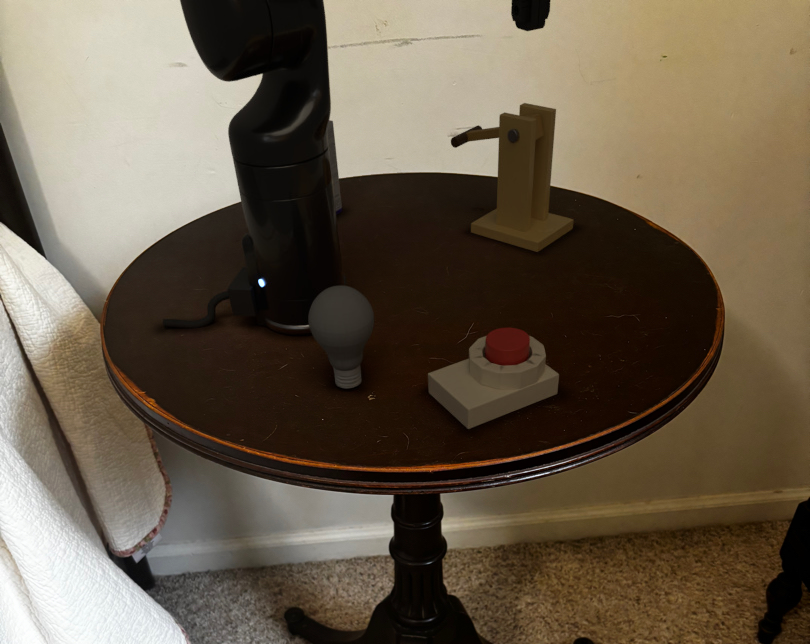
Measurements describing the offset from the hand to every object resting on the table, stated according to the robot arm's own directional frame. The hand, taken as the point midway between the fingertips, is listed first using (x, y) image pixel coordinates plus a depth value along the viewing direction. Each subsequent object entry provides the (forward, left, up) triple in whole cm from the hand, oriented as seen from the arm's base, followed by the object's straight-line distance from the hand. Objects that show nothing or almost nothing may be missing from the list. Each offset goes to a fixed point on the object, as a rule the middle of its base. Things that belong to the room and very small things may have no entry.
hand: (529, 28), depth 65 cm
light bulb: (-15, -13, -27) cm, 34 cm away
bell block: (-1, -13, -27) cm, 30 cm away
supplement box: (-29, +26, -27) cm, 48 cm away
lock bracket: (-1, +23, -27) cm, 35 cm away
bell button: (0, -12, -23) cm, 26 cm away
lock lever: (-4, +25, -17) cm, 31 cm away
